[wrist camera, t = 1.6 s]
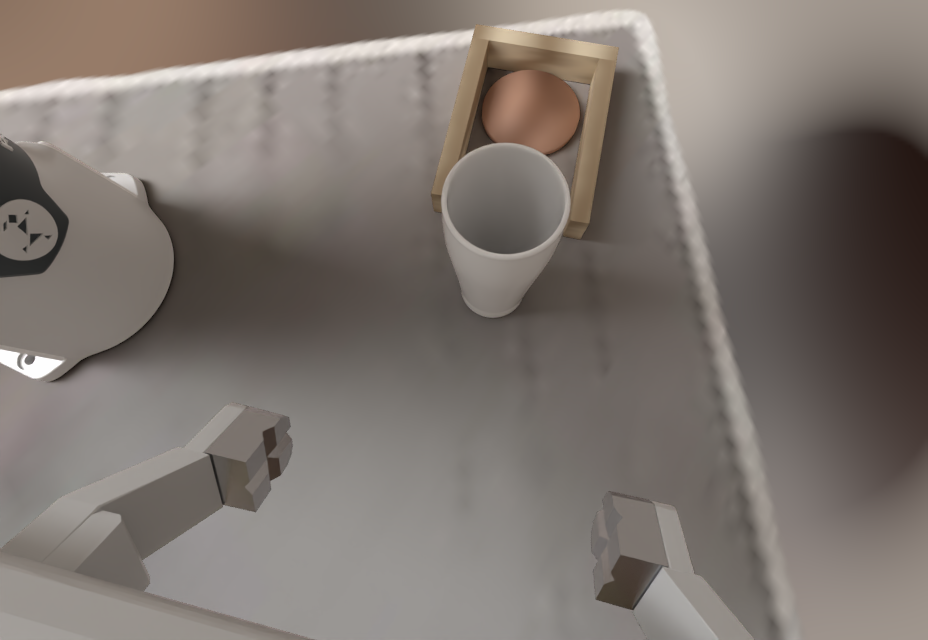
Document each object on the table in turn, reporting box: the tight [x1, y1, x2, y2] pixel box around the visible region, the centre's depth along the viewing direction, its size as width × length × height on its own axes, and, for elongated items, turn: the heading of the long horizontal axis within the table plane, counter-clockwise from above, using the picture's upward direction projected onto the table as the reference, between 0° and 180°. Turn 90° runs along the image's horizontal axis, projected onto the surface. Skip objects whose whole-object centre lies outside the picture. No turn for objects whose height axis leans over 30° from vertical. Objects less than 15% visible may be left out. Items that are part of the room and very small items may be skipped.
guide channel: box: [431, 24, 619, 240], centre depth 38 cm, size 13×18×3 cm
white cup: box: [441, 143, 571, 318], centre depth 29 cm, size 7×7×15 cm
